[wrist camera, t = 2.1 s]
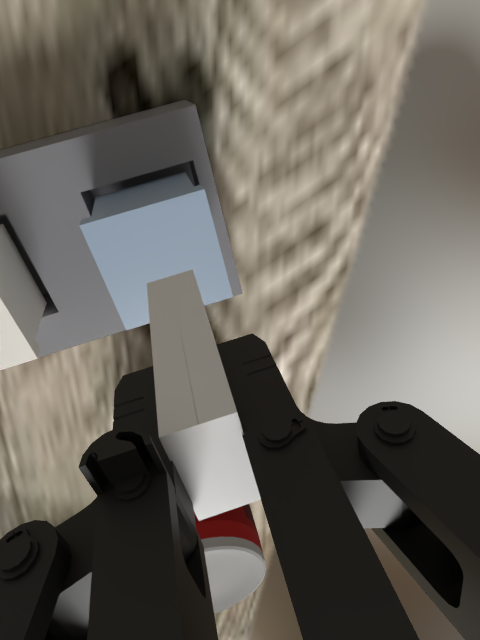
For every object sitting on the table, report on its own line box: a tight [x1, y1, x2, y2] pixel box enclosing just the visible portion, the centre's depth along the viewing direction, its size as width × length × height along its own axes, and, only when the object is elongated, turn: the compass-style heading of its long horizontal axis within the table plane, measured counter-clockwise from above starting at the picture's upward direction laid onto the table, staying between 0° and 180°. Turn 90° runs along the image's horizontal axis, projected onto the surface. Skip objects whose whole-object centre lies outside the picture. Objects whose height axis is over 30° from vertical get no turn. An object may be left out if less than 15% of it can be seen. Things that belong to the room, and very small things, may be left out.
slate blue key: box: [79, 172, 233, 330], centre depth 20 cm, size 5×5×5 cm
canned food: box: [194, 504, 266, 614], centre depth 31 cm, size 8×8×11 cm
